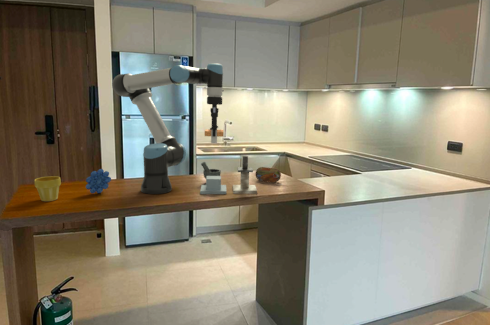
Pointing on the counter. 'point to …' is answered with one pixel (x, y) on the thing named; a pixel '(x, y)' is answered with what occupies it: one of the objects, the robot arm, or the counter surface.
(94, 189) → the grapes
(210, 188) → the block
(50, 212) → the counter surface
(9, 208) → the counter surface
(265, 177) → the tin
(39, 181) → the plant pot
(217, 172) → the mortar and pestle
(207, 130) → the link
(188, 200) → the counter surface
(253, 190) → the post stand
